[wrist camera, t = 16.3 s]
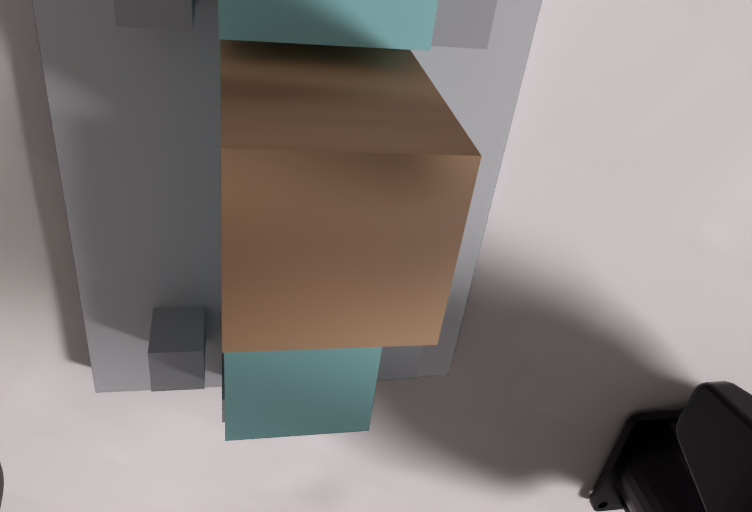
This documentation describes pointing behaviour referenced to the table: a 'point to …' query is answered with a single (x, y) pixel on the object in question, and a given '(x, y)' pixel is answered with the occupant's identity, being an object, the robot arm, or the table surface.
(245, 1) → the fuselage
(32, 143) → the table surface
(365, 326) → the brown wooden cube
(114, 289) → the jig
